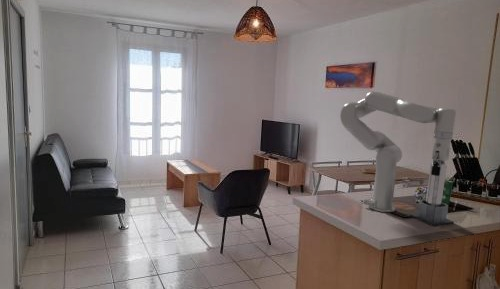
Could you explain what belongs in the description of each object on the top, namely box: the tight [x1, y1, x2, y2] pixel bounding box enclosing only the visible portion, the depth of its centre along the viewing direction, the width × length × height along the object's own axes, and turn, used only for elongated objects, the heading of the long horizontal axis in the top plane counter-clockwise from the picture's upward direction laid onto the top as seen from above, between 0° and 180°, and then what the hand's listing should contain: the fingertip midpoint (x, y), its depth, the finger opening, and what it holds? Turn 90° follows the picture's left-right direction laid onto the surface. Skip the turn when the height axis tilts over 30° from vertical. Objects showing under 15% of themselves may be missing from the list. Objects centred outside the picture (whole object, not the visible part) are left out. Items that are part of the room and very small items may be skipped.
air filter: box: [425, 161, 448, 207], centre depth 167 cm, size 6×6×25 cm
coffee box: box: [442, 179, 454, 206], centre depth 198 cm, size 8×3×13 cm, turn 58°
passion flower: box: [413, 186, 428, 203], centre depth 196 cm, size 11×11×12 cm
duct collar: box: [409, 199, 455, 227], centre depth 168 cm, size 13×13×8 cm
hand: (437, 174), depth 166 cm, fingers closed on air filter, 6 cm apart
